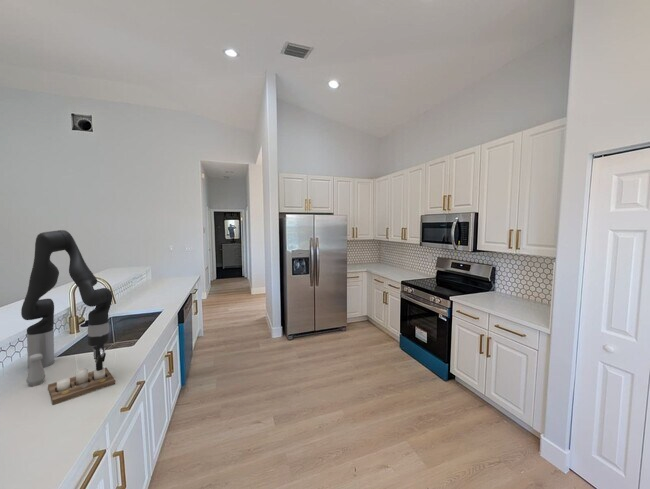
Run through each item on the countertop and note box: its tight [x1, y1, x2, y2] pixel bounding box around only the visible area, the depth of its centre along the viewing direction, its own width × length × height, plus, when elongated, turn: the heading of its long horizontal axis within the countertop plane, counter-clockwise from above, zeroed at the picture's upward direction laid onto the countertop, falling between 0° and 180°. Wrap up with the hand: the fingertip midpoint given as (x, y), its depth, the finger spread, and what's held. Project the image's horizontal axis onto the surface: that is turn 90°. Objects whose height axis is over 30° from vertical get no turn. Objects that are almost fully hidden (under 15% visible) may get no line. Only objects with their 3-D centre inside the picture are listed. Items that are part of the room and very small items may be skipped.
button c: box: [93, 367, 106, 381], centre depth 124 cm, size 4×4×5 cm
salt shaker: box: [26, 354, 46, 387], centre depth 121 cm, size 6×6×13 cm
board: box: [47, 367, 116, 406], centre depth 120 cm, size 16×20×2 cm
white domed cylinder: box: [56, 377, 71, 393], centre depth 115 cm, size 4×4×5 cm
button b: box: [75, 368, 89, 385], centre depth 120 cm, size 4×4×5 cm
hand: (99, 369), depth 124 cm, fingers closed
